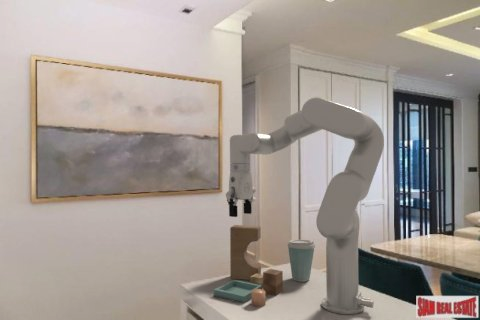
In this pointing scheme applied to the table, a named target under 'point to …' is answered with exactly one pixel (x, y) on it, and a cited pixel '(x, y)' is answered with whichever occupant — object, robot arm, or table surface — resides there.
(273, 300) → the table surface
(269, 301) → the table surface
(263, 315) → the table surface
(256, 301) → the peach round blob
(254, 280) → the oak cube
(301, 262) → the disposable coffee cup
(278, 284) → the walnut block
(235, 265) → the decorative block
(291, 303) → the table surface
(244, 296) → the tray
